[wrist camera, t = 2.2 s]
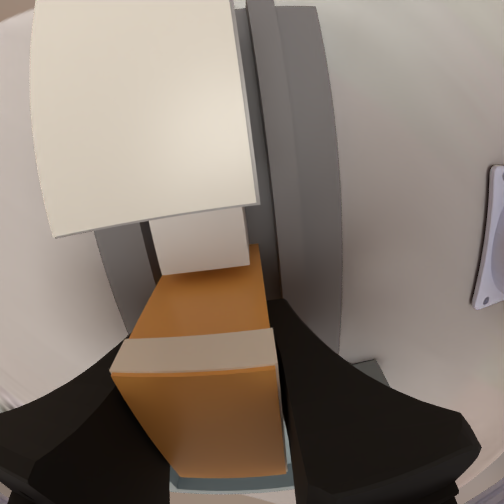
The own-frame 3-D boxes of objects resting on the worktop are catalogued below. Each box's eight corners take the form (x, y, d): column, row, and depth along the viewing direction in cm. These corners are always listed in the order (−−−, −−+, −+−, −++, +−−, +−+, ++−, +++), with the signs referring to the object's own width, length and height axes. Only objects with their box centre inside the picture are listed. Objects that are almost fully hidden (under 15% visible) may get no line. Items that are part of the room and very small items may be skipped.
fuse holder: (309, 16, 8) (335, -26, 5) (333, 340, 13) (354, 393, 10) (82, 60, 8) (31, 42, 5) (150, 358, 13) (131, 410, 10)
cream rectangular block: (232, 35, 7) (220, -81, 2) (250, 166, 9) (261, 206, 3) (141, 54, 7) (37, -16, 2) (157, 180, 9) (51, 241, 4)
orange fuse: (259, 241, 10) (278, 366, 4) (271, 345, 12) (288, 474, 6) (172, 253, 10) (107, 374, 4) (199, 352, 12) (179, 477, 6)
